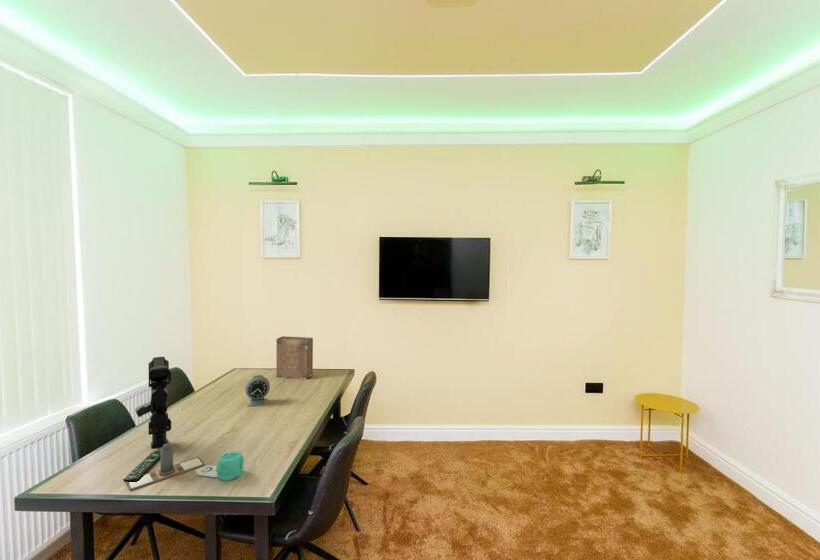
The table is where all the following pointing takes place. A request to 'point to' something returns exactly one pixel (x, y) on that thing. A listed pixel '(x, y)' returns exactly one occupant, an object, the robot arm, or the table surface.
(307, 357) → the book
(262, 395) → the alarm clock
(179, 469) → the game board
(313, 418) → the table surface
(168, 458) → the pawn
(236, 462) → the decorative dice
